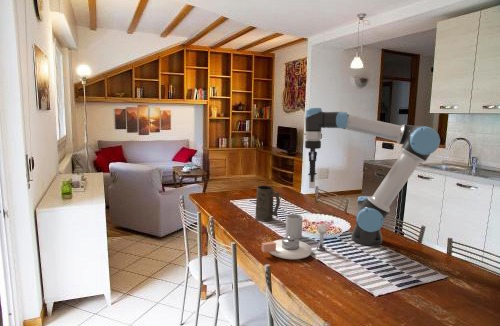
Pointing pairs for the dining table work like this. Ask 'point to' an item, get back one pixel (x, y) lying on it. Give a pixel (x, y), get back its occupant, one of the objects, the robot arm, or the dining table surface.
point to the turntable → (278, 251)
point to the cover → (290, 243)
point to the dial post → (321, 236)
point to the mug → (294, 225)
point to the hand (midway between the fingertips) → (312, 187)
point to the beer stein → (266, 203)
